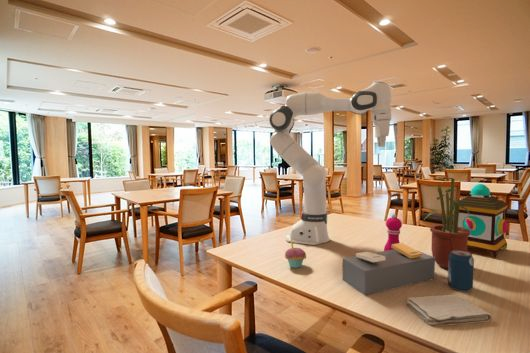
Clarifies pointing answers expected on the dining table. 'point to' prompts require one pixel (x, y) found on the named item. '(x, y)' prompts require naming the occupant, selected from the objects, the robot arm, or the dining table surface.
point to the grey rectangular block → (387, 271)
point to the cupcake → (295, 256)
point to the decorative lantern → (484, 220)
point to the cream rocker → (370, 256)
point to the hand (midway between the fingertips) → (381, 146)
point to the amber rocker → (406, 250)
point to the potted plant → (448, 229)
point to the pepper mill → (392, 232)
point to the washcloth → (447, 310)
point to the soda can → (460, 270)
